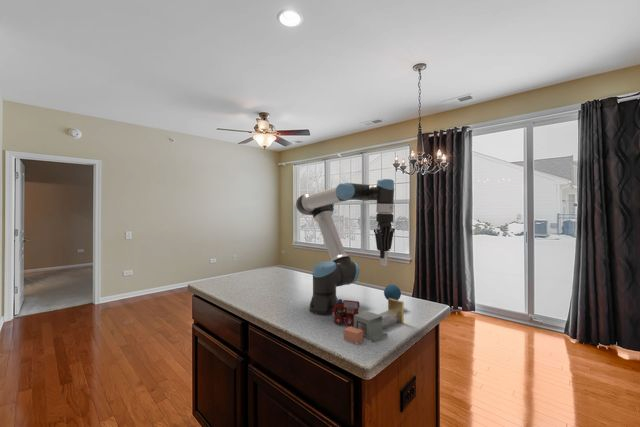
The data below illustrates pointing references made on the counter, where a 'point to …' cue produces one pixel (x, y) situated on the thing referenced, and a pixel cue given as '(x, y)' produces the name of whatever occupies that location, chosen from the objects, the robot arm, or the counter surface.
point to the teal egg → (392, 292)
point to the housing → (370, 325)
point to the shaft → (389, 315)
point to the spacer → (353, 334)
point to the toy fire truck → (345, 312)
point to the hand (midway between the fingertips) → (383, 265)
